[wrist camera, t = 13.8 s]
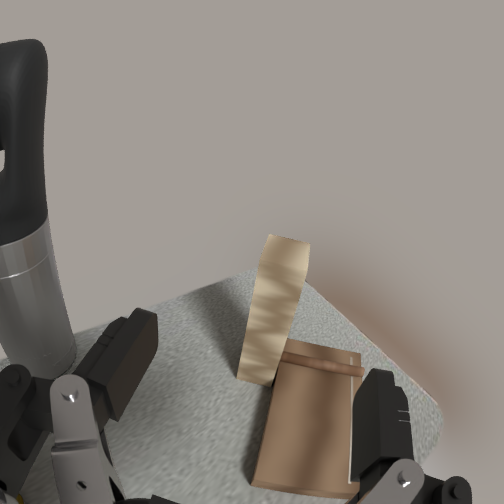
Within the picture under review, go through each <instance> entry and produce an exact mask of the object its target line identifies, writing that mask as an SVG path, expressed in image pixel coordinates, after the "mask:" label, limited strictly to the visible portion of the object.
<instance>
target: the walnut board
mask: <svg viewBox="0 0 504 504" xmlns="http://www.w3.org/2000/svg"><path fill="white" fill-rule="evenodd" d="M283 351H285V352H290V353H294V354H299V355H303V356H308V357H313V358H317V359H322V360H327V361H332V362H337V363H342V364H348V365H353V366H359V367H361V354H360V353H355V352H350V351H345V350H340V349H335V348H330V347H325V346H320V345H316V344H311V343H306V342H302V341H297V340H293V339H289V338H287V340H286V343H285V346H284V349H283ZM361 384H362V377H357V376H354V377H352V376H351V375H345V374H340V373H334V372H329V371H324V370H319V369H314V368H309V367H304V366H300V365H295V364H291V363H286V362H282V361H279V364H278V367H277V370H276V375H275V380H274V385H273V390H272V395H271V399H270V404H269V408H268V413H267V418H266V422H265V427H264V431H263V435H262V440H261V444H260V448H259V453H258V457H257V461H256V465H255V469H254V473H253V478H252V482H251V486H255V487H260V488H265V489H270V490H275V491H281V492H287V493H294V494H301V495H308V496H317V497H326V498H338V499H350V498H351V497H352V496H353V495H354V494H355V493H356V492H357V491H358V490H359V489H360V482H350V473H351V452H352V406H353V400H354V396H355V394H356V392H357V390H358V389H359V387H360V386H361Z"/></svg>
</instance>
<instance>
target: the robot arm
mask: <svg viewBox="0 0 504 504" xmlns="http://www.w3.org/2000/svg"><path fill="white" fill-rule="evenodd" d="M47 81H48V60H47V54H46V51H45V47H44V46H43V44H42V43H41V42H40V41H38V40H36V39H25V40H18V41H12V42H7V43H1V44H0V151H1V150H5V163H4V169H3V170H2V171H1V172H0V343H1V345H2V347H3V349H4V351H5V353H6V355H7V357H8V359H9V361H10V362H11V364H12V365H9V366H7V367H5V368H4V369H3V370H2V371H1V372H0V504H19V503H18V502H17V500H16V498H17V496H18V494H19V492H20V490H21V487H22V485H23V483H24V481H25V479H26V477H27V475H28V473H29V471H30V469H31V467H32V465H33V463H34V461H35V459H36V457H37V455H38V453H39V451H40V450H41V448H42V446H43V444H44V442H45V440H46V438H47V436H48V435H49V433H50V432H52V433H54V439H55V446H53V447H52V450H51V455H52V462H53V468H54V474H55V479H56V484H57V489H58V494H59V498H60V503H61V504H179V503H176V502H173V501H170V500H167V499H164V498H161V497H159V496H156V495H153V494H152V497H151V499H146V498H133V499H126V496H125V493H124V490H123V487H122V484H121V482H120V479H119V477H118V474H117V472H116V469H115V465H114V462H113V458H112V454H111V450H110V446H109V442H108V438H107V434H106V430H105V424H106V423H107V421H108V419H109V418H110V419H113V420H115V421H117V422H118V421H119V419H120V417H121V416H122V414H123V412H124V410H125V408H126V406H127V405H128V403H129V401H130V399H131V397H132V395H133V394H134V392H135V390H136V388H137V386H138V385H139V383H140V381H141V379H142V377H143V376H144V374H145V372H146V370H147V369H148V367H149V365H150V363H151V361H152V360H153V358H154V356H155V354H156V351H157V348H158V321H157V314H156V313H153V312H150V311H147V310H144V309H141V308H136V309H135V310H134V311H133V312H132V314H131V315H130V316H129V318H128V319H127V318H124V317H120V318H118V319H116V320H115V321H113V322H112V323H110V324H109V325H108V327H107V328H106V329H105V331H104V332H103V333H102V335H101V336H100V337H99V338H98V340H97V342H96V343H95V344H94V345H93V346H92V348H91V349H90V351H89V352H88V353H87V355H86V356H85V357H84V359H83V360H82V361H81V363H80V364H79V366H78V367H77V368H76V370H75V371H74V372H73V373H72V374H69V375H63V376H61V377H59V378H57V379H56V380H51V379H54V378H56V377H58V376H60V375H61V374H63V373H64V372H65V371H66V370H67V369H68V368H69V367H70V366H71V364H72V363H73V361H74V359H75V356H76V344H75V340H74V337H73V333H72V330H71V326H70V322H69V318H68V315H67V311H66V307H65V303H64V299H63V294H62V290H61V286H60V281H59V277H58V272H57V267H56V261H55V256H54V251H53V245H52V240H51V233H50V226H49V219H48V209H47V201H46V190H45V175H44V154H43V147H44V145H43V144H44V143H43V142H44V141H43V140H44V119H45V105H46V94H47ZM408 411H409V408H408V400H407V397H406V395H405V393H404V391H403V390H402V388H401V387H398V386H395V382H394V375H393V372H392V371H387V370H381V369H375V368H373V369H371V371H370V372H369V374H368V375H367V377H366V378H365V380H364V381H363V383H362V384H361V386H360V387H359V389H358V390H357V392H356V394H355V396H354V400H353V406H352V452H351V473H350V482H360V489H359V490H358V491H357V492H356V493H355V494H354V495H353V496H352V497H351V498H350V499H349V500H348V501H347V502H346V503H345V504H472V492H471V487H470V485H469V483H468V482H467V481H466V480H465V479H464V478H462V477H459V476H454V477H451V478H449V479H448V480H446V481H442V480H439V479H436V478H433V477H430V476H428V475H426V474H424V472H423V470H422V468H421V466H420V465H419V464H418V463H417V462H415V461H414V456H413V444H412V434H411V424H410V423H409V422H410V416H409V413H408Z"/></svg>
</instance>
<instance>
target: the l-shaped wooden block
mask: <svg viewBox="0 0 504 504" xmlns="http://www.w3.org/2000/svg"><path fill="white" fill-rule="evenodd" d="M309 250H310V243H306V242H301V241H297V240H293V239H289V238H285V237H280V236H276V235H271V234H269V236H268V239H267V241H266V244H265V247H264V250H263V253H262V255H261V258H260V261H259V266H258V272H257V277H256V282H255V287H254V292H253V297H252V302H251V307H250V312H249V318H248V323H247V328H246V333H245V338H244V343H243V348H242V353H241V358H240V363H239V368H238V373H237V378H236V379H239V380H243V381H247V382H251V383H255V384H259V385H263V386H268V387H271V385H272V382H273V379H274V376H275V373H276V370H277V367H278V364H279V361H282V362H286V363H291V364H295V365H300V366H304V367H309V368H314V369H319V370H324V371H329V372H334V373H340V374H345V375H351V376H352V377H354V376H357V377H363V375H364V371H365V369H364V367H359V366H353V365H348V364H342V363H337V362H332V361H327V360H322V359H317V358H313V357H308V356H303V355H299V354H294V353H290V352H285V351H283V349H284V346H285V343H286V340H287V337H288V333H289V330H290V327H291V324H292V321H293V317H294V314H295V311H296V308H297V304H298V301H299V298H300V294H301V291H302V288H303V284H304V281H305V277H306V274H307V269H308V259H309Z"/></svg>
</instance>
